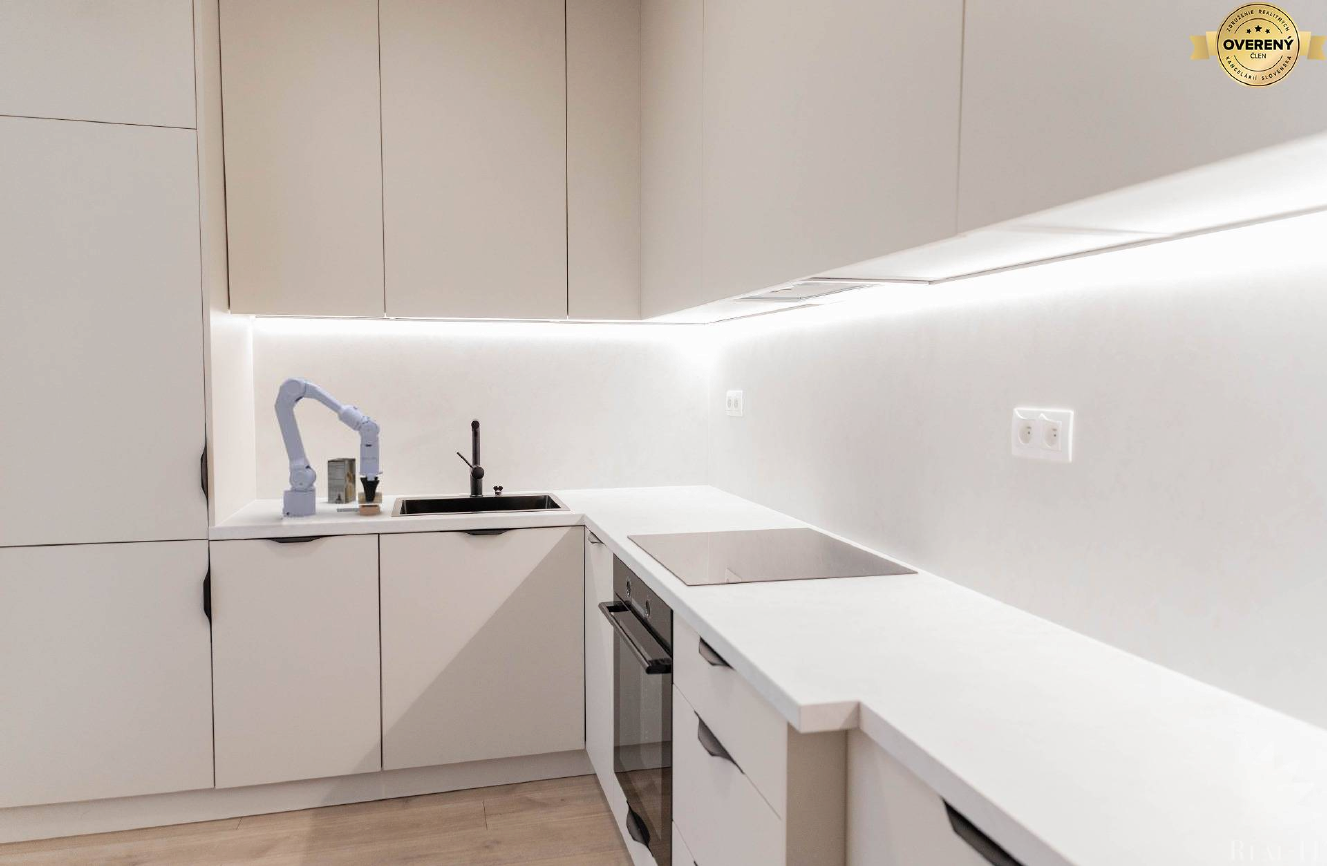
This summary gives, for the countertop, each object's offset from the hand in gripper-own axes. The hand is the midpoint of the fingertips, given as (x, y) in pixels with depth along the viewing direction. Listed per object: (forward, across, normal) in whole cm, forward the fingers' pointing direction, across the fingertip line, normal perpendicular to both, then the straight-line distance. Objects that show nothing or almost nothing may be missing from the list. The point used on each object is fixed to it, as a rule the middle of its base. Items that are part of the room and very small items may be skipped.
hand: (369, 500), depth 261 cm
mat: (+5, +8, +5) cm, 11 cm away
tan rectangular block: (+1, 0, 0) cm, 1 cm away
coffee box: (+6, +28, +8) cm, 29 cm away
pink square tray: (+5, 0, 0) cm, 5 cm away
